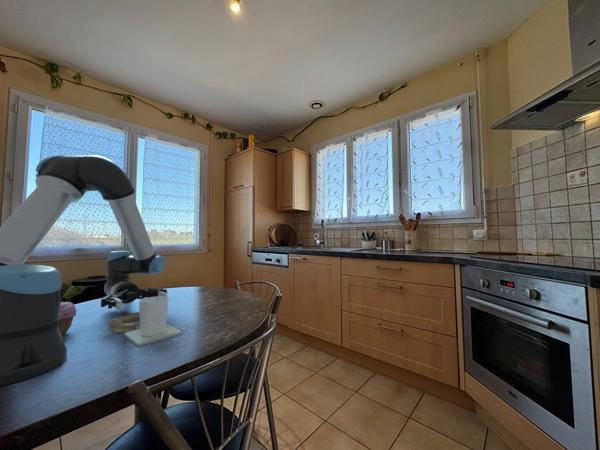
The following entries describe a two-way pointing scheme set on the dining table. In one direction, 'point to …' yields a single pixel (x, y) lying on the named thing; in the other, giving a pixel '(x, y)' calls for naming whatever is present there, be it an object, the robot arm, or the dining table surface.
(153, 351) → the dining table surface
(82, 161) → the robot arm
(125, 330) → the collar
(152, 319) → the white cup
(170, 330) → the pad
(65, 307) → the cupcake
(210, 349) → the dining table surface
